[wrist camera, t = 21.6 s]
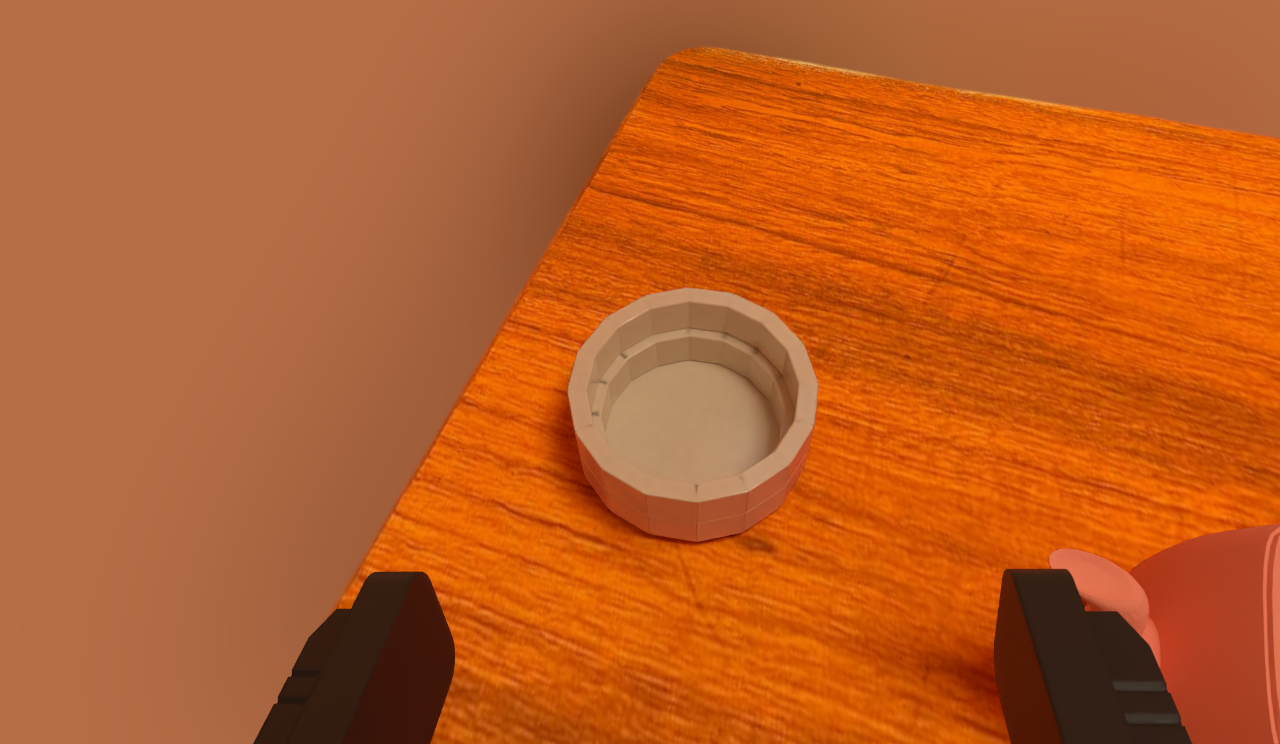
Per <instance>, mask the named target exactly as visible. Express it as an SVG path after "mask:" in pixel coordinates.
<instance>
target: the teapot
mask: <svg viewBox="0 0 1280 744" xmlns="http://www.w3.org/2000/svg"><path fill="white" fill-rule="evenodd" d="M1049 565H1050V568H1051V569H1067V570H1068V571H1069V572H1070V573H1071V575H1072V577H1073V579H1074V581H1075V584H1076V587H1077V589H1078V592H1079V595H1080V597H1081V598H1082V599H1083V600H1084V601H1085V602H1087V603H1088V604H1087V605H1086V606H1085V611H1117V612H1118V613H1119V614H1120V615H1121V616H1122V617H1123V618H1124V619H1125V620H1126V621H1127V622H1128V623H1129V624H1130V625H1131V626H1132V627H1133V628H1134V629H1135V630H1136V631H1137V633H1138V634H1139V635H1140V636H1141V637H1142V638H1143V639H1144V640H1145V641H1146V642H1147V643H1148V644H1149V645H1150V647H1151V649H1152V652H1153V654H1154V656H1155V659H1156V661H1157V663H1158V665H1159V668H1160V670H1161V672H1162V675H1163V677H1164V679H1165V682H1166V684H1167V691H1168V693H1171V696H1172V698H1173V700H1174V703H1175V705H1176V707H1177V709H1178V712H1179V714H1180V716H1181V724H1182V726H1185V728H1186V730H1187V733H1188V735H1189V737H1190V740H1191V742H1192V744H1280V524H1276V525H1267V526H1259V527H1252V528H1244V529H1237V530H1231V531H1224V532H1218V533H1213V534H1208V535H1203V536H1200V537H1197V538H1193V539H1190V540H1187V541H1184V542H1182V543H1179V544H1177V545H1175V546H1172V547H1170V548H1168V549H1166V550H1163V551H1161V552H1159V553H1157V554H1155V555H1153V556H1152V557H1150V558H1148V559H1146V560H1144V561H1143V562H1142V563H1140V564H1139V565H1138V566H1136V567H1135V568H1134V569H1133V570H1132V571H1130V572H1129V573H1127V572H1126V571H1125V570H1123V569H1122V568H1121V567H1119V566H1117V565H1115V564H1114V563H1112V562H1110V561H1108V560H1106V559H1104V558H1102V557H1099V556H1097V555H1094V554H1091V553H1088V552H1085V551H1080V550H1075V549H1059V550H1056V551H1054V552H1052V553H1051V555H1050V557H1049Z"/></svg>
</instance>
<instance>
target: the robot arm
mask: <svg viewBox="0 0 1280 744" xmlns="http://www.w3.org/2000/svg"><path fill="white" fill-rule="evenodd" d="M454 665H455V647H454V641H453V637H452V634H451V632H450V629H449V627H448V624H447V622H446V619H445V616H444V614H443V611H442V609H441V606H440V604H439V601H438V599H437V596H436V593H435V591H434V588H433V586H432V583H431V581H430V579H429V577H428V575H427V574H426V573H425V572H374V573H372V574H370V575H369V576H368V578H367V579H366V580H365V582H364V584H363V586H362V588H361V590H360V592H359V594H358V596H357V598H356V600H355V602H354V604H353V606H352V608H351V609H336V610H335V611H334V612H333V613H332V614H331V615H330V616H329V617H328V618H327V619H326V620H325V622H324V623H323V624H322V625H321V626H320V627H319V628H318V629H317V630H316V631H315V632H314V633H313V634H312V635H311V636H310V637H309V638H308V640H307V642H306V644H305V646H304V648H303V650H302V652H301V654H300V655H299V657H298V659H297V661H296V663H295V665H294V667H293V669H292V676H291V677H288V678H287V680H286V682H285V684H284V686H283V688H282V690H281V692H280V694H279V696H278V703H277V704H274V705H273V707H272V709H271V711H270V713H269V715H268V717H267V719H266V720H265V722H264V724H263V726H262V728H261V730H260V732H259V734H258V736H257V738H256V740H255V741H254V743H253V744H430V743H431V740H432V737H433V734H434V731H435V728H436V725H437V722H438V719H439V716H440V713H441V711H442V708H443V705H444V702H445V699H446V696H447V693H448V690H449V687H450V684H451V681H452V677H453V673H454ZM994 666H995V676H996V682H997V688H998V692H999V697H1000V701H1001V705H1002V709H1003V713H1004V717H1005V721H1006V725H1007V729H1008V733H1009V737H1010V741H1011V744H1192V742H1191V740H1190V737H1189V735H1188V733H1187V730H1186V728H1185V726H1182V724H1181V716H1180V714H1179V712H1178V709H1177V707H1176V705H1175V703H1174V700H1173V698H1172V696H1171V693H1168V691H1167V684H1166V682H1165V679H1164V677H1163V675H1162V672H1161V670H1160V668H1159V665H1158V663H1157V661H1156V659H1155V656H1154V654H1153V652H1152V649H1151V647H1150V645H1149V644H1148V643H1147V642H1146V641H1145V640H1144V639H1143V638H1142V637H1141V636H1140V635H1139V634H1138V633H1137V631H1136V630H1135V629H1134V628H1133V627H1132V626H1131V625H1130V624H1129V623H1128V622H1127V621H1126V620H1125V619H1124V618H1123V617H1122V616H1121V615H1120V614H1119V613H1118V612H1117V611H1085V608H1084V605H1083V603H1082V600H1081V597H1080V595H1079V592H1078V589H1077V587H1076V584H1075V581H1074V579H1073V577H1072V575H1071V573H1070V572H1069V571H1068V570H1067V569H1006V570H1005V571H1004V574H1003V578H1002V586H1001V593H1000V601H999V609H998V616H997V624H996V632H995V640H994Z"/></svg>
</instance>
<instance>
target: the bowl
mask: <svg viewBox="0 0 1280 744" xmlns="http://www.w3.org/2000/svg"><path fill="white" fill-rule="evenodd" d="M818 387H819V385H818V381H817V378H816V375H815V373H814V370H813V367H812V365H811V362H810V359H809V356H808V354H807V351H806V348H805V346H804V345H803V343H802V341H801V340H800V339H799V338H798V337H797V336H796V335H795V334H794V333H793V332H792V331H791V330H790V329H789V328H788V327H787V326H786V325H785V324H784V323H783V322H782V321H781V320H780V319H779V318H778V317H777V315H776V314H774V313H773V312H771V311H769V310H767V309H765V308H763V307H761V306H759V305H757V304H755V303H753V302H750V301H748V300H746V299H744V298H742V297H740V296H738V295H736V294H732V293H728V292H720V291H712V290H704V289H696V288H682V289H676V290H671V291H666V292H660V293H655V294H650V295H645V296H644V297H641V298H639V299H637V300H636V301H634V302H632V303H630V304H628V305H627V306H625V307H623V308H621V309H620V310H618V311H616V312H614V313H613V314H611V315H609V316H607V317H606V319H604V320H603V321H602V322H601V323H600V325H599V326H598V327H597V328H596V330H595V331H594V332H593V333H592V334H591V336H590V337H589V338H588V339H587V340H586V342H585V343H584V344H583V345H582V347H581V348H580V349H579V351H578V352H577V355H576V359H575V363H574V366H573V370H572V373H571V377H570V381H569V384H568V388H567V395H568V400H569V405H570V411H571V416H572V421H573V427H574V432H575V436H576V441H577V445H578V450H579V454H580V459H581V463H582V468H583V472H584V474H585V477H586V479H587V480H588V481H589V483H590V484H591V486H592V487H593V488H594V490H595V491H596V493H597V494H598V495H599V497H600V498H601V500H602V501H603V502H604V504H605V505H606V507H607V508H608V509H609V510H610V511H611V512H613V513H615V514H616V515H618V516H620V517H621V518H623V519H625V520H626V521H628V522H630V523H631V524H633V525H635V526H636V527H638V528H640V529H641V530H643V531H645V532H646V533H649V534H652V535H658V536H664V537H670V538H676V539H682V540H688V541H696V542H699V541H704V540H709V539H714V538H718V537H723V536H728V535H733V534H737V533H742V532H743V531H746V530H747V529H749V528H750V527H751V526H753V525H754V524H756V523H757V522H759V521H760V520H762V519H763V518H765V517H766V516H768V515H769V514H771V513H772V512H774V511H775V510H777V509H778V508H780V506H781V505H782V504H783V502H784V501H785V499H786V498H787V496H788V494H789V493H790V491H791V489H792V488H793V486H794V485H795V483H796V481H797V480H798V478H799V477H800V475H801V473H802V472H803V469H804V465H805V461H806V457H807V453H808V449H809V445H810V441H811V437H812V433H813V429H814V425H815V416H816V407H817V397H818Z"/></svg>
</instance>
